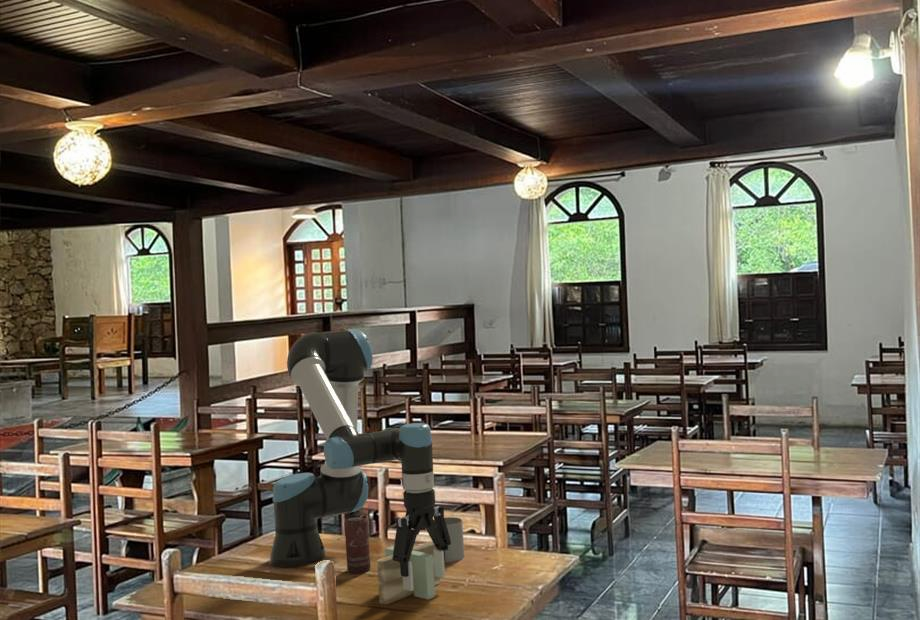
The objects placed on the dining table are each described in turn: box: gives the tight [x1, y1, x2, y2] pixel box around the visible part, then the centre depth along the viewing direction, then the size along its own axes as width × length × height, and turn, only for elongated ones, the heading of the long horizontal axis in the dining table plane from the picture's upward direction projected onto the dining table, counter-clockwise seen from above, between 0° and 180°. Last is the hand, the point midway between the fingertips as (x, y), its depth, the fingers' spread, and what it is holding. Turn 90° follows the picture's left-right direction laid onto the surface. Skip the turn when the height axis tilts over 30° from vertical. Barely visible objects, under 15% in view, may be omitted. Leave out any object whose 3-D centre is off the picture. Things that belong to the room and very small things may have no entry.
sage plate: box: [384, 545, 436, 600], centre depth 204 cm, size 14×2×10 cm, turn 47°
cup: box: [433, 516, 465, 563], centre depth 231 cm, size 8×8×10 cm
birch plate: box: [376, 541, 441, 605], centre depth 204 cm, size 2×18×10 cm, turn 137°
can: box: [344, 514, 371, 575], centre depth 225 cm, size 6×6×14 cm
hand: (424, 583), depth 201 cm, fingers open, 10 cm apart
